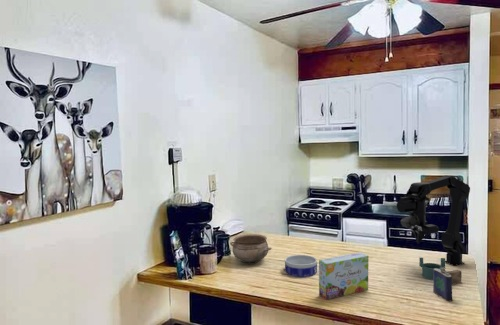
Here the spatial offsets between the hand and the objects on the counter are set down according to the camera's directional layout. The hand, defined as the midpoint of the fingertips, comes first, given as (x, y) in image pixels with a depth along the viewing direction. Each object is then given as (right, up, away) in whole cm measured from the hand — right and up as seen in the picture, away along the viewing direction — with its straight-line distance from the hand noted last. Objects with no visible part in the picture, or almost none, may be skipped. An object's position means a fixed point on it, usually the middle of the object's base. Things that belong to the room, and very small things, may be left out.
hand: (418, 243), depth 178 cm
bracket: (+3, -14, -7) cm, 16 cm away
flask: (-2, -15, -27) cm, 31 cm away
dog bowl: (-54, -15, +5) cm, 56 cm away
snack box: (-40, -16, -21) cm, 48 cm away
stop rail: (+6, -14, -16) cm, 22 cm away
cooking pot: (-78, -14, +22) cm, 82 cm away
